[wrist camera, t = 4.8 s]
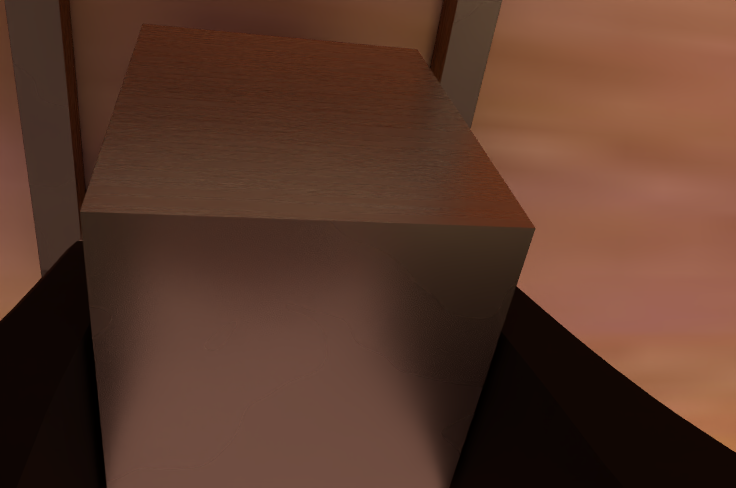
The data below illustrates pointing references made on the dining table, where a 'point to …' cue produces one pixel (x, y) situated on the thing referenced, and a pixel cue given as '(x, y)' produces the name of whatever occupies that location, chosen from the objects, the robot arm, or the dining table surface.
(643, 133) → the dining table surface
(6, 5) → the vise bed
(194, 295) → the block
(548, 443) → the robot arm
